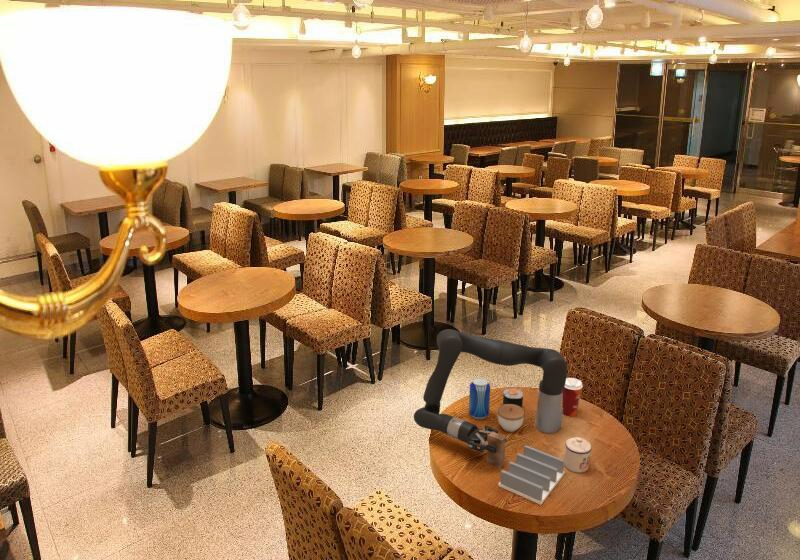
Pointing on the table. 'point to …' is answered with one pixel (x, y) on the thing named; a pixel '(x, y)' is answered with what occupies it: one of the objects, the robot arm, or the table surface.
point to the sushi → (513, 397)
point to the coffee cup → (571, 396)
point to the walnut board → (498, 442)
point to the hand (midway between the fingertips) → (501, 446)
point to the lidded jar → (510, 417)
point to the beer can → (479, 398)
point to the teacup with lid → (577, 454)
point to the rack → (533, 474)
